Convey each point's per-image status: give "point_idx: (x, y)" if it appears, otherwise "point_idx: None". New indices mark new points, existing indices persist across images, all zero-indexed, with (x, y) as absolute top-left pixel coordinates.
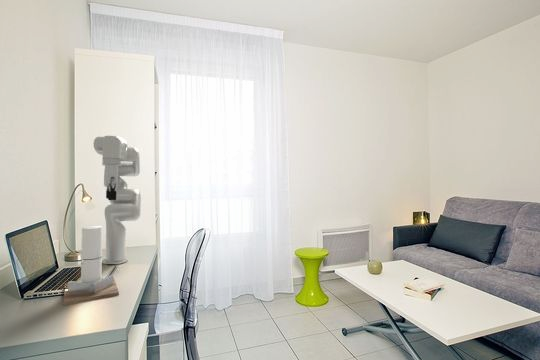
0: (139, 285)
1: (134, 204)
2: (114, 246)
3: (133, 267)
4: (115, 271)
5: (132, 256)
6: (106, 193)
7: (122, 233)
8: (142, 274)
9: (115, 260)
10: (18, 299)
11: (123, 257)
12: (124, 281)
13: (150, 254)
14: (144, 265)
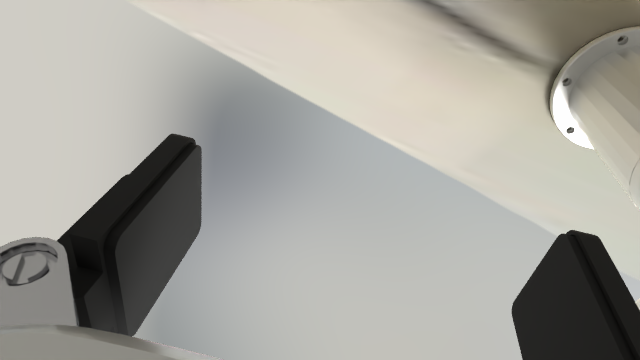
0: (213, 44)
1: None
2: (615, 107)
3: (446, 114)
4: (451, 33)
5: None
6: (610, 307)
7: (631, 192)
8: (327, 102)
9: (580, 81)
10: None
11: (576, 124)
12: (289, 16)
13: None
14: (436, 156)
